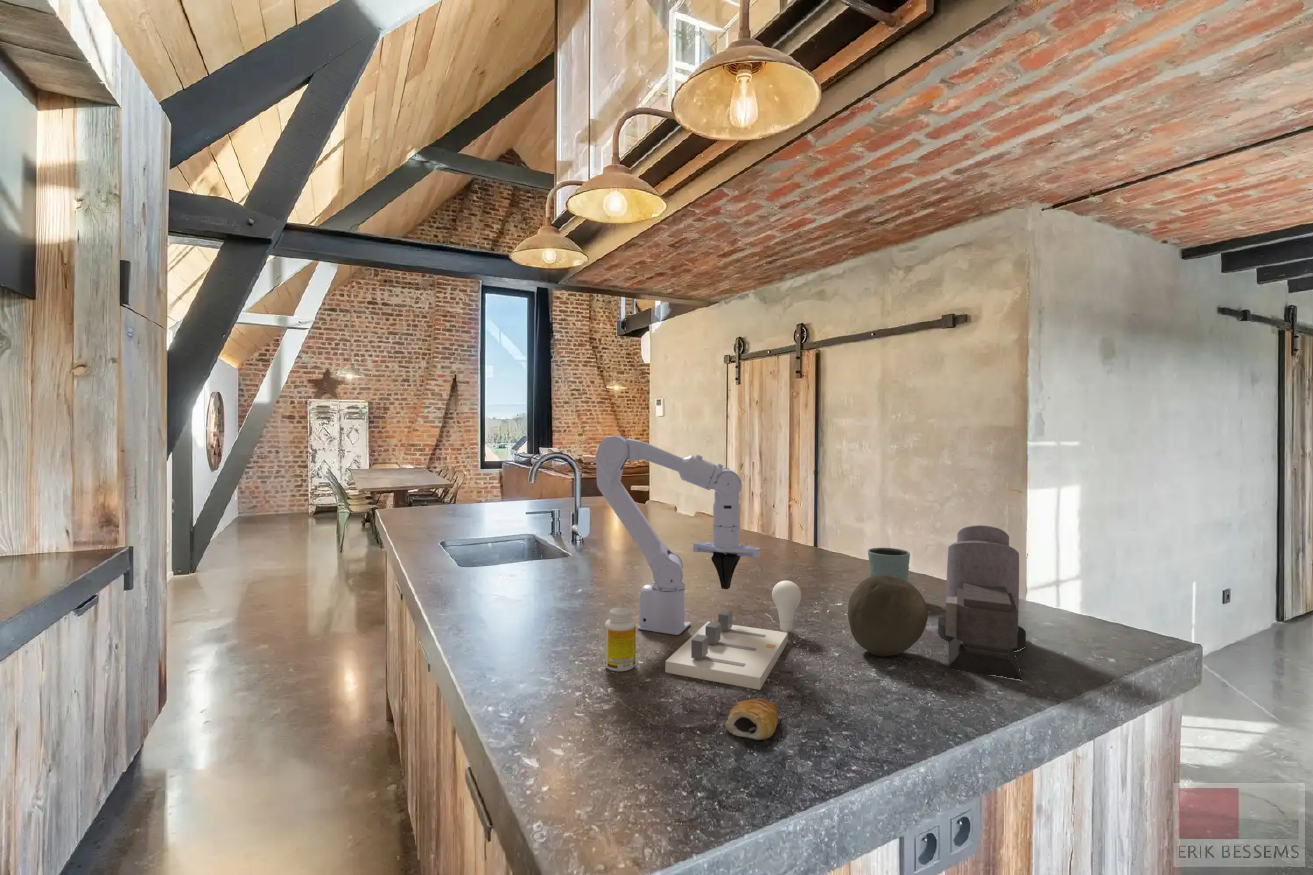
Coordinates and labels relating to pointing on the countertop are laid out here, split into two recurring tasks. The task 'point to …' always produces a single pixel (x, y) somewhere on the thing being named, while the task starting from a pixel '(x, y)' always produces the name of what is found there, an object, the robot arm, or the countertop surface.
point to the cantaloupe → (886, 615)
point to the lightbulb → (786, 602)
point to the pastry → (753, 719)
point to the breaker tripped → (713, 632)
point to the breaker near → (699, 646)
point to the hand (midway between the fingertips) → (725, 587)
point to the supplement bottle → (620, 640)
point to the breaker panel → (732, 657)
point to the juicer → (982, 603)
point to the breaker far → (725, 620)
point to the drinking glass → (889, 562)
